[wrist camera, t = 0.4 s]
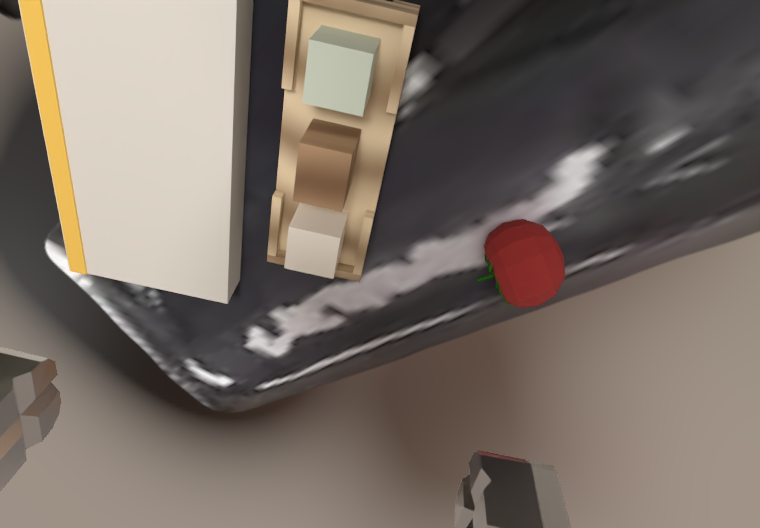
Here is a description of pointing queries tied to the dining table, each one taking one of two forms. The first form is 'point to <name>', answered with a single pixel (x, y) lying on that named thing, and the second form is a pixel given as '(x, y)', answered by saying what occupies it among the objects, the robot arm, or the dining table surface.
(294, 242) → the block
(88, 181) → the dock
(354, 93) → the block
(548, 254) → the tomato
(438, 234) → the dining table surface
